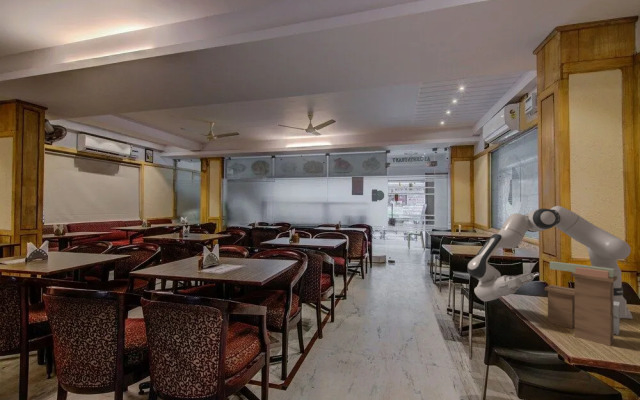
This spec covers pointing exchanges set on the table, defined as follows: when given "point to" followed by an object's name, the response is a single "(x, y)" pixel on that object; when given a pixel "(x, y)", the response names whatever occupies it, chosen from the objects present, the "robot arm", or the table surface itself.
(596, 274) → the terracotta rod
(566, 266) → the sage rod
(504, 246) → the robot arm
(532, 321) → the table surface
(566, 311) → the low shelf
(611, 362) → the table surface
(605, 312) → the brown wooden tall block
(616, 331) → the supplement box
